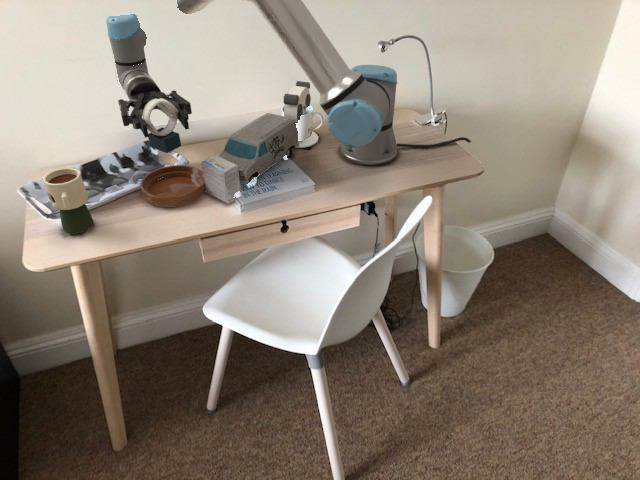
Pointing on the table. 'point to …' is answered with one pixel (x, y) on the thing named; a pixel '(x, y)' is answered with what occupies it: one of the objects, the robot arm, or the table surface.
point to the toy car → (260, 145)
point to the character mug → (69, 199)
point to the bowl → (173, 186)
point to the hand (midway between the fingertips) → (166, 127)
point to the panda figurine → (299, 108)
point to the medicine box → (221, 178)
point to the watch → (165, 136)
